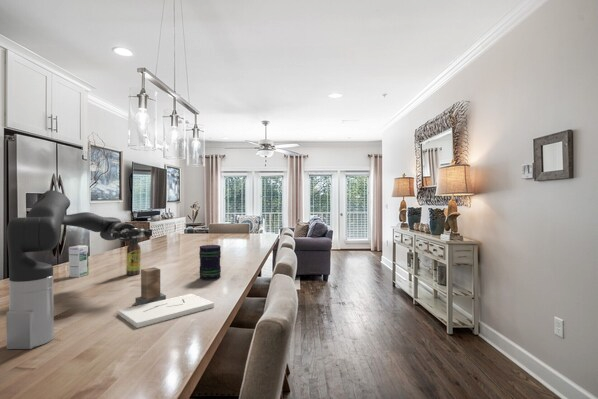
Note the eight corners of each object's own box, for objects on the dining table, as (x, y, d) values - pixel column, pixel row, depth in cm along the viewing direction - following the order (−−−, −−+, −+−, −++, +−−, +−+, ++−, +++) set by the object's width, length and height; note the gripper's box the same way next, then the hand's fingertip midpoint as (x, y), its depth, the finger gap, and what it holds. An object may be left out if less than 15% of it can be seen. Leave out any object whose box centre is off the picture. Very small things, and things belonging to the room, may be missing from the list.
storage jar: (212, 274, 167) (212, 244, 167) (225, 277, 161) (225, 246, 161) (195, 278, 160) (195, 246, 159) (207, 281, 153) (207, 248, 153)
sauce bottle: (131, 276, 163) (131, 235, 163) (123, 274, 166) (123, 234, 166) (143, 273, 169) (143, 233, 169) (135, 272, 172) (135, 233, 172)
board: (137, 327, 99) (137, 322, 99) (118, 314, 111) (118, 310, 111) (214, 307, 118) (214, 302, 118) (191, 297, 129) (191, 293, 129)
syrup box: (79, 277, 161) (78, 247, 161) (68, 276, 162) (68, 246, 162) (88, 274, 166) (88, 245, 166) (78, 274, 168) (78, 244, 167)
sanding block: (140, 306, 119) (140, 272, 119) (135, 303, 123) (135, 270, 122) (165, 300, 126) (165, 268, 125) (160, 297, 129) (159, 266, 129)
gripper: (105, 224, 138) (119, 226, 126) (141, 221, 148) (156, 224, 137) (105, 242, 138) (119, 246, 126) (141, 239, 148) (156, 242, 137)
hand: (138, 235), depth 132 cm, fingers open, 8 cm apart
